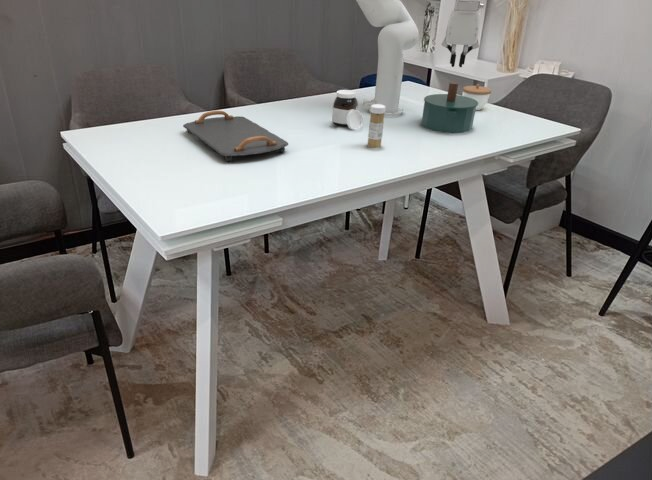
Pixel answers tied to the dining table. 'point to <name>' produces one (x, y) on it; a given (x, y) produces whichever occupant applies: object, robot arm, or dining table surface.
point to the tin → (447, 119)
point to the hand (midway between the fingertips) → (456, 65)
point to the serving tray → (234, 135)
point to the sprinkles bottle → (376, 125)
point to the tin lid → (451, 99)
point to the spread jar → (346, 110)
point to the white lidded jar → (477, 94)
